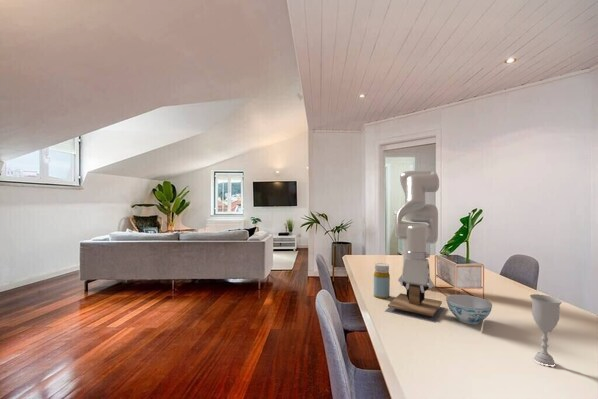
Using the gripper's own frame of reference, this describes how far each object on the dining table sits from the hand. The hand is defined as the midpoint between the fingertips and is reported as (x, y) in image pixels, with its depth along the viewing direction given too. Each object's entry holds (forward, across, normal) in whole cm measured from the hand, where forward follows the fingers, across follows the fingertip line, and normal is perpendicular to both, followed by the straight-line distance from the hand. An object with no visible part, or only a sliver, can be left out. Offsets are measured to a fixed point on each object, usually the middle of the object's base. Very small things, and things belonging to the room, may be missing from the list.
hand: (415, 299), depth 127 cm
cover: (+2, 0, 0) cm, 2 cm away
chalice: (+4, -40, +21) cm, 45 cm away
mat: (+4, 0, +1) cm, 4 cm away
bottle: (+5, +17, -7) cm, 19 cm away
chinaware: (+4, -19, +1) cm, 20 cm away
